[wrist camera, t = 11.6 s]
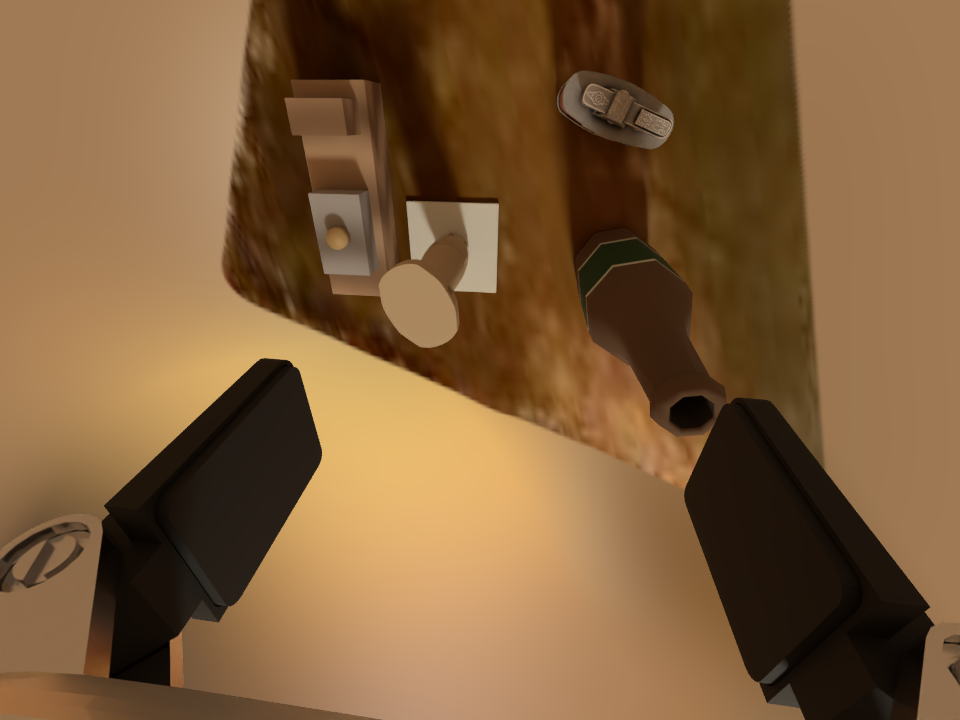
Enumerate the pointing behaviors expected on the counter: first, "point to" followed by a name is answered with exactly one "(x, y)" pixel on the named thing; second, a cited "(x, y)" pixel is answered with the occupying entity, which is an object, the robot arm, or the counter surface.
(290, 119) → the body
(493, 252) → the felt pad
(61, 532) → the robot arm
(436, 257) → the handle
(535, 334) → the counter surface
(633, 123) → the lighter
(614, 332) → the brown glass bottle
